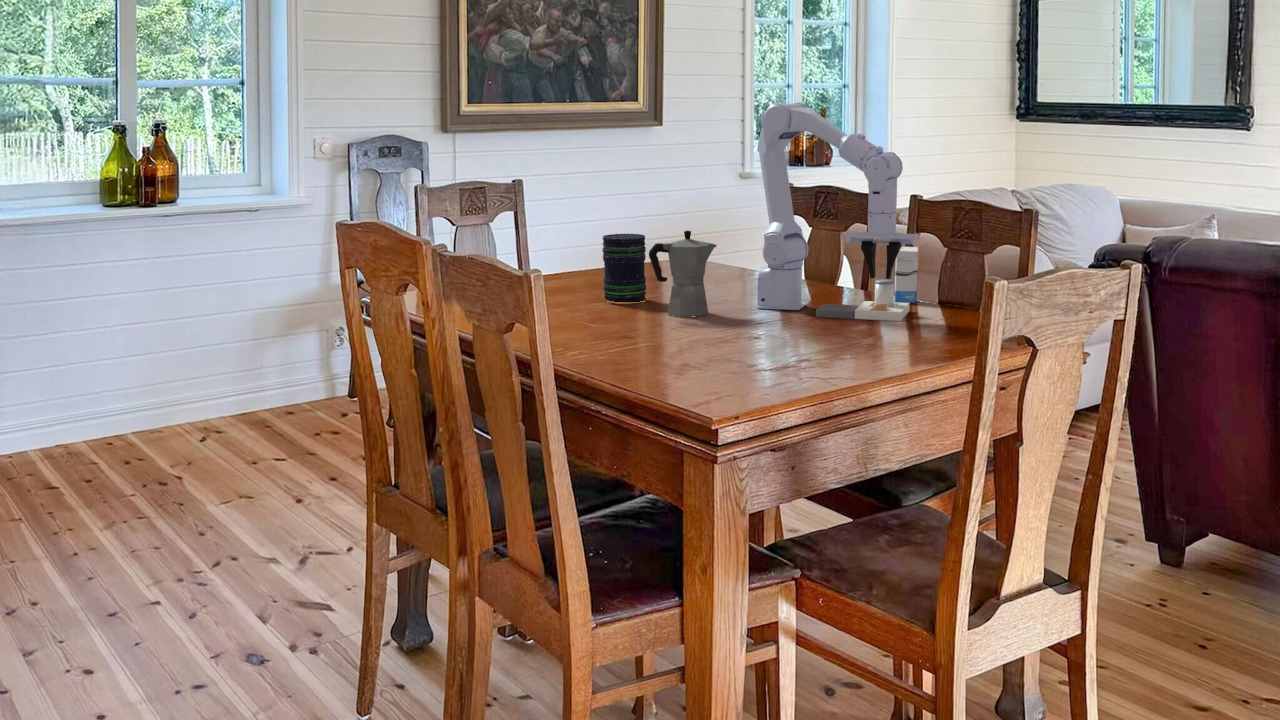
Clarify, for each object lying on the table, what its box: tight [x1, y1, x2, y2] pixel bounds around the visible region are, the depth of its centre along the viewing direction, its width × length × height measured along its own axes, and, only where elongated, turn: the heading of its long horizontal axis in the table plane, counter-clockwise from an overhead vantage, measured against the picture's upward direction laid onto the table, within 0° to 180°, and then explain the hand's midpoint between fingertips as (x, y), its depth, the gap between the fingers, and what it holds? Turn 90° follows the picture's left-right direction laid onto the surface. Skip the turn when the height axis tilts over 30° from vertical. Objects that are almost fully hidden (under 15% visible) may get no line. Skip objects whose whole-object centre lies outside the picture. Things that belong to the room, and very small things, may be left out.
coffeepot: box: [648, 230, 717, 318], centre depth 272 cm, size 15×9×18 cm, turn 110°
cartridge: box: [874, 279, 895, 308], centre depth 271 cm, size 4×4×7 cm
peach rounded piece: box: [873, 303, 887, 311], centre depth 266 cm, size 3×3×3 cm
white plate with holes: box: [854, 300, 911, 322], centre depth 270 cm, size 10×12×2 cm
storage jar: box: [602, 233, 647, 302], centre depth 291 cm, size 10×10×15 cm
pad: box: [815, 303, 861, 320], centre depth 271 cm, size 8×8×2 cm
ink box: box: [894, 246, 919, 304], centre depth 286 cm, size 8×5×12 cm, turn 168°
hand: (880, 278), depth 265 cm, fingers open, 3 cm apart
